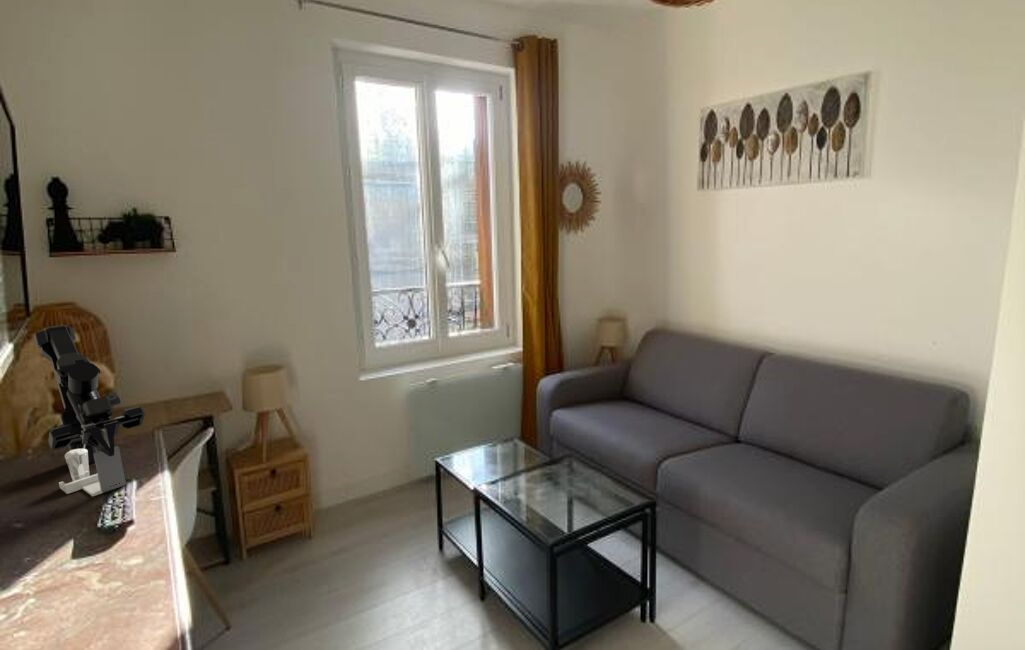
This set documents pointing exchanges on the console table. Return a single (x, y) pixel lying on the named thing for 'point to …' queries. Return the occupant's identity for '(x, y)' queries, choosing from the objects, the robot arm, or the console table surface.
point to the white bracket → (100, 475)
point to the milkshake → (78, 463)
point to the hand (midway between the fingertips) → (112, 455)
